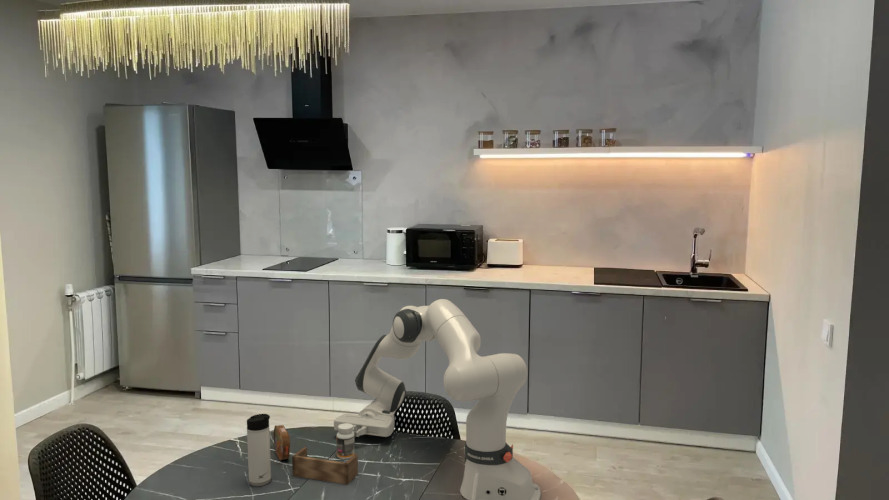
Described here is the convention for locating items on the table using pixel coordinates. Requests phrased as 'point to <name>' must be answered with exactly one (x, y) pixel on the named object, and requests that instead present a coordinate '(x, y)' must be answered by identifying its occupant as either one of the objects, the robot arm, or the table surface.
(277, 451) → the tin
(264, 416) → the travel mug
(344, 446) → the pill bottle
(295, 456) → the box
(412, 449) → the table surface
